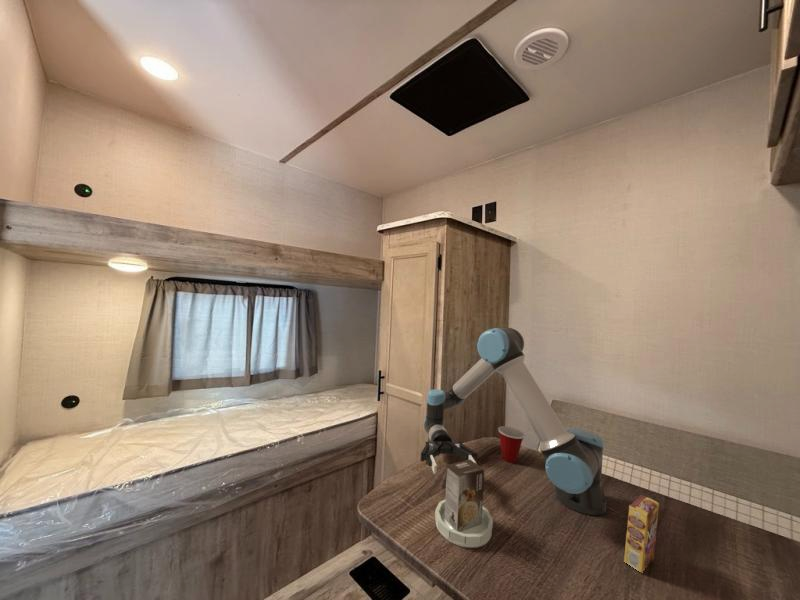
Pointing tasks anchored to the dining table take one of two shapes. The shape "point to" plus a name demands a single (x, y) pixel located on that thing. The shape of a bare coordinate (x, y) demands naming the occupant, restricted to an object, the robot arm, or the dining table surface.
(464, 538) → the round dish
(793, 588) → the dining table surface
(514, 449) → the plastic cup
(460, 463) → the coffee box
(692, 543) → the dining table surface
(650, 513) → the candy box
